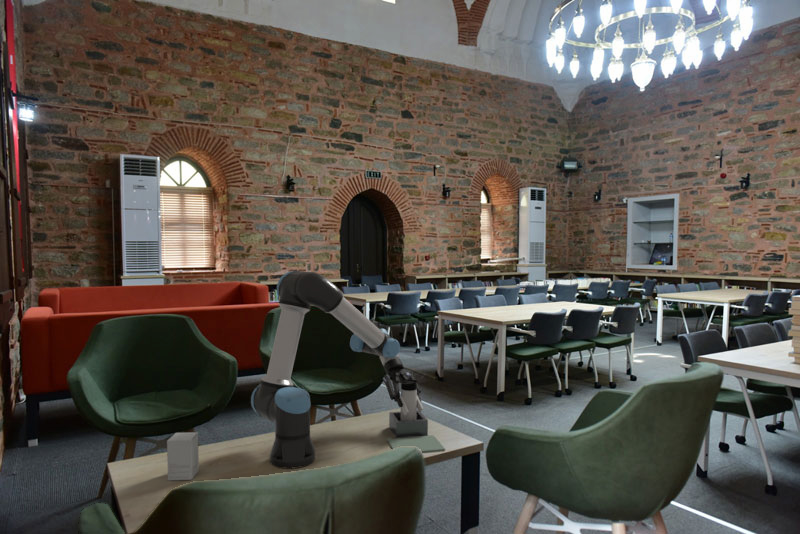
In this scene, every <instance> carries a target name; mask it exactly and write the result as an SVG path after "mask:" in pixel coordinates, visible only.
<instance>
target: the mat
mask: <svg viewBox="0 0 800 534" xmlns="http://www.w3.org/2000/svg"><path fill="white" fill-rule="evenodd" d="M387 442H388V444H389V446H390V448H391V450H393V448H396V447H400V446H416V447H418V448H419V449H421V451H422V452H423V453H432V452H433V451H435V452H441V451H440V450H445V451H446V448H445V447H444V445H442V443H441V442H440V440H438V439H437V437H436V436H435V435H433V434H432V435H428V436H416V437H404V438H396V437H395V438H387ZM398 445H399V446H398Z"/></svg>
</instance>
